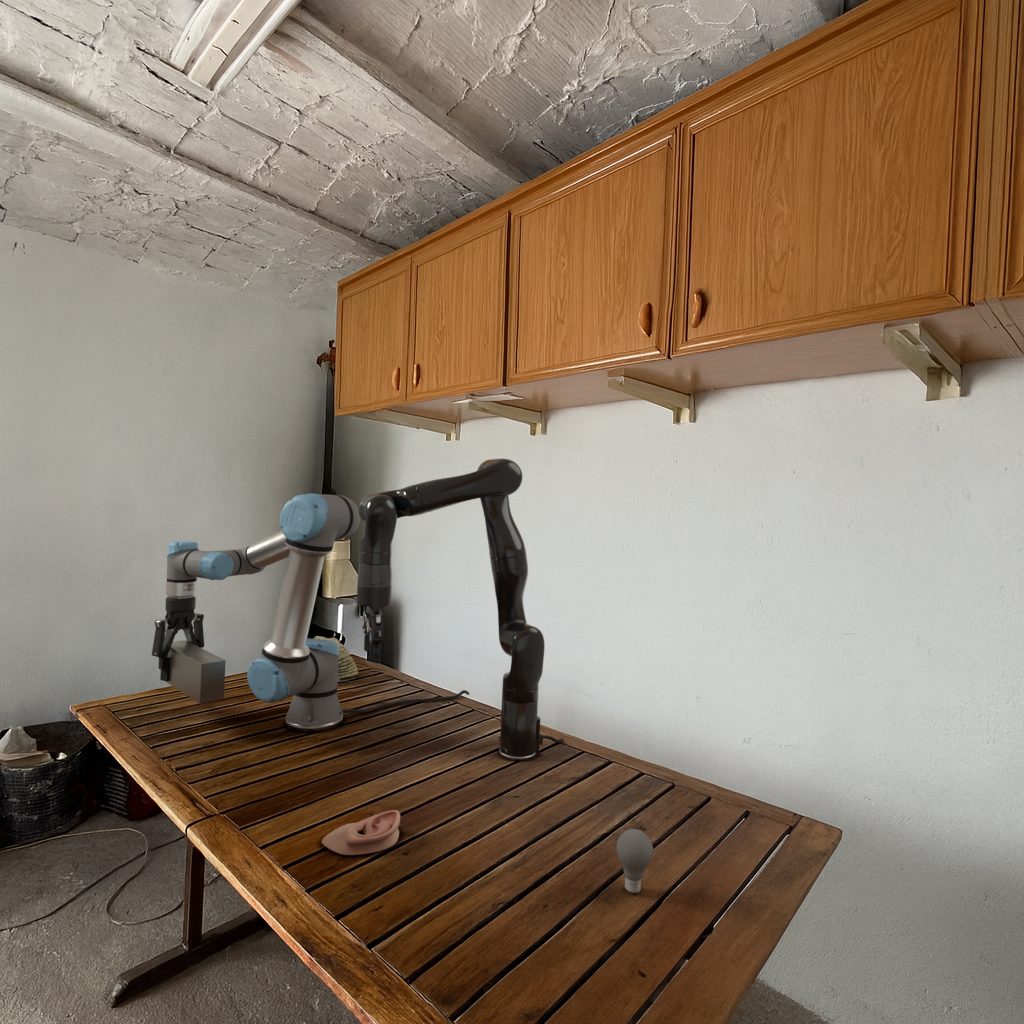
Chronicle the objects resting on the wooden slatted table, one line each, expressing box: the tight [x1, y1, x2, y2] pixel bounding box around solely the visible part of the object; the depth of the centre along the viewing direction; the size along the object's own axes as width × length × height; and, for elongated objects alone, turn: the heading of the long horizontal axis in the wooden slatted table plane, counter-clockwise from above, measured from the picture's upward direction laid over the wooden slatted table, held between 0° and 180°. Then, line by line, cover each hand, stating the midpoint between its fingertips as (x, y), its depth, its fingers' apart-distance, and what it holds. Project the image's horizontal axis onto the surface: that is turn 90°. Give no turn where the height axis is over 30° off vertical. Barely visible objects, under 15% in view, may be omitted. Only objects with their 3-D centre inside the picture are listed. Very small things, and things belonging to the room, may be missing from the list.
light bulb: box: [615, 828, 654, 894], centre depth 106 cm, size 6×6×10 cm
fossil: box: [313, 635, 359, 683], centre depth 217 cm, size 9×18×15 cm, turn 132°
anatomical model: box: [321, 809, 401, 856], centre depth 118 cm, size 13×4×12 cm
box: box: [166, 639, 227, 705], centre depth 172 cm, size 27×6×10 cm, turn 47°
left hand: (177, 677), depth 178 cm, fingers closed on box, 7 cm apart
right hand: (371, 655), depth 142 cm, fingers open, 8 cm apart
